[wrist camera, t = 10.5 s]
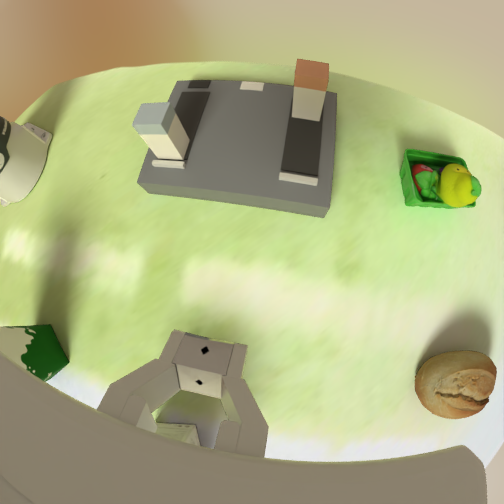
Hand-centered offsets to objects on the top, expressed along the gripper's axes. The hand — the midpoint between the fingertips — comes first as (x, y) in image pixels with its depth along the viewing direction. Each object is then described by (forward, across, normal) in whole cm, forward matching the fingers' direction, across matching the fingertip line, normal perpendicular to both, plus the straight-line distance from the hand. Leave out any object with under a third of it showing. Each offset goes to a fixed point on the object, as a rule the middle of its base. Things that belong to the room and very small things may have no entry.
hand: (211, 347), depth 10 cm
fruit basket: (+30, -23, -1) cm, 38 cm away
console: (+32, +4, -3) cm, 32 cm away
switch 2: (+31, -4, -9) cm, 32 cm away
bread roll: (+13, -31, +19) cm, 38 cm away
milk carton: (+9, +31, +26) cm, 41 cm away
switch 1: (+26, +12, -2) cm, 29 cm away
